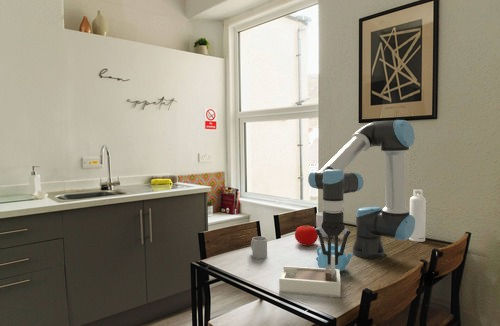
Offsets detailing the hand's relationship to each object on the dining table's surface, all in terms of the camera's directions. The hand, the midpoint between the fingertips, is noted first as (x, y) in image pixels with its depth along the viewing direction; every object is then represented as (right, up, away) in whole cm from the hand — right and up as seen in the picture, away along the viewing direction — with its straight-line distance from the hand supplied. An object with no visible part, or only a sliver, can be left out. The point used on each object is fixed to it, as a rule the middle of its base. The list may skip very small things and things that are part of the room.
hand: (332, 272), depth 132 cm
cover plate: (-7, -3, +2) cm, 7 cm away
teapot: (+5, -5, +19) cm, 20 cm away
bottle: (+62, -2, +63) cm, 89 cm away
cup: (-27, -4, +39) cm, 48 cm away
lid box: (-8, -6, +2) cm, 11 cm away
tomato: (-1, -3, +57) cm, 57 cm away
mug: (+14, -2, +72) cm, 73 cm away
